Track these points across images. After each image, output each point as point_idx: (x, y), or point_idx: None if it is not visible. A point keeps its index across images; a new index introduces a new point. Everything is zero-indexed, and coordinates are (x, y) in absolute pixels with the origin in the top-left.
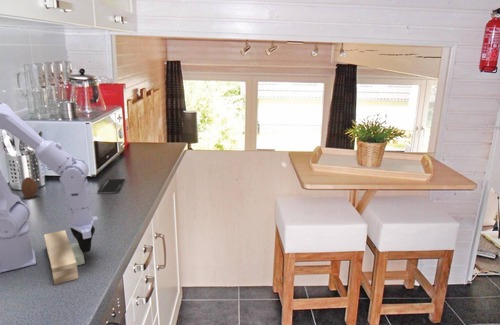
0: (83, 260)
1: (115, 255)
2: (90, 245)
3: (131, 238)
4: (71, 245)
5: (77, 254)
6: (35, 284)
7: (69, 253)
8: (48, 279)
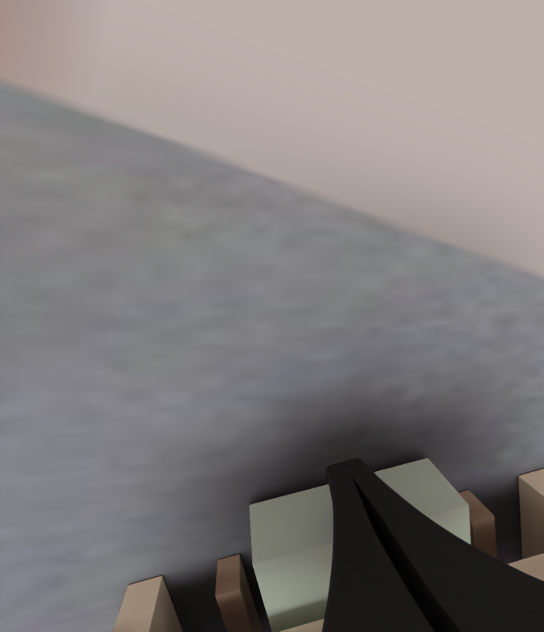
0: (440, 477)
1: (383, 279)
2: (387, 485)
3: (139, 137)
4: (285, 597)
5: None
6: None
7: None
8: None
